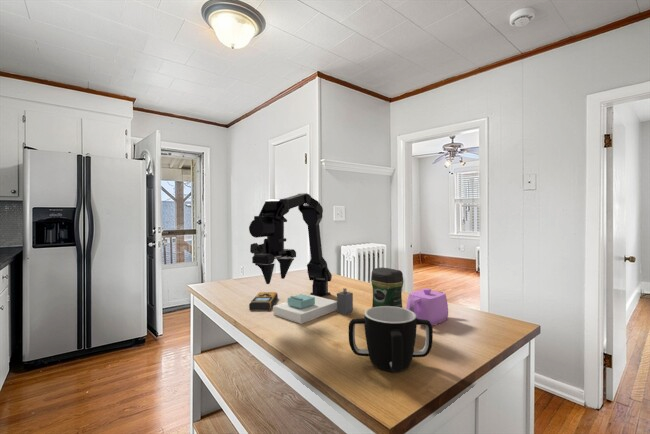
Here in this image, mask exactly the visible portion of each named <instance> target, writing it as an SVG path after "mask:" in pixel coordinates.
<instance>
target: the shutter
mask: <svg viewBox="0 0 650 434" xmlns="http://www.w3.org/2000/svg"><path fill="white" fill-rule="evenodd" d="M287 302H288V305H290V306H294V307H297V308H300V309H302V308H305V307H308V306H311V305H314V304H315V297H311V296H309V295H307V294H303V293H301V294H297V295H291V296H290V297H287Z"/></svg>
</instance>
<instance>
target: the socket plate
mask: <svg viewBox="0 0 650 434" xmlns="http://www.w3.org/2000/svg"><path fill="white" fill-rule="evenodd" d="M308 296H311V297H315V304H314V305H311V306H308V307H305V308H302V309H300V308H297V307H294V306H290V305H288V301H285V302H282V303H279V304H275V305H273V306H272V312H273V313H272V314H273V315H274V316H276V317H280V318H283V319H286V320H289V321H291V322H295V323H298V324H301V325H302V324H303V323H307V322H309V321H312V320H314V319H317V318H319V317H322V316H325V315H327V314H331V313H333V312H335V311H336V312H337V300H333V299H330V298H325V297H323V296H322V297H319V296H315V295H311V294H309V295H308Z"/></svg>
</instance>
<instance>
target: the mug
mask: <svg viewBox="0 0 650 434" xmlns="http://www.w3.org/2000/svg"><path fill="white" fill-rule="evenodd" d="M363 314H364V315H363V317H359V318H352V319H351V320H350V321H349V323H348V343H349V346H350V349H351V351H352V353H353V354H355V355H356V356H359V357H369V360H370V361H371V364H372V365H373V366H374V367H376V368H378V369H379V370H382V371H386V372H394V373H400V372H402V371H403V370H406V369H408V368H409V367H410V365H411V362H412V359H413V358H424V357H427V356H428V355H429V354H430V353H431V349H432V347H433V337H434V336H433V333H434V331H433V326H432V325H431V323H430V322H429V321H428V320H423V319H417V316H416V314H415V313H414V312H412V311H410V310H408V309H406V307H402V308H400V307H394V306H379V307H373V308H372V307H370V308H368V309H365V311H364V313H363ZM356 325H364V335H365V341H366V348H367V349H366V348H365V349H364V348H358V346H357V344H356V335H355V334H356V333H355V329H356ZM417 326H425V342H424V346H423V348H422V349H420V350H415V345H416V337H417Z"/></svg>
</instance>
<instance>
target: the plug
mask: <svg viewBox="0 0 650 434" xmlns="http://www.w3.org/2000/svg"><path fill="white" fill-rule="evenodd" d="M353 295H354V294H353V292H349V291H347V288H345V287H344V288H342V291H340V292H338V293H336V301H337V310H336V312H337V313H336V314H339V315H343V316H348V315H350V314H352V313H354V297H353Z"/></svg>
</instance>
